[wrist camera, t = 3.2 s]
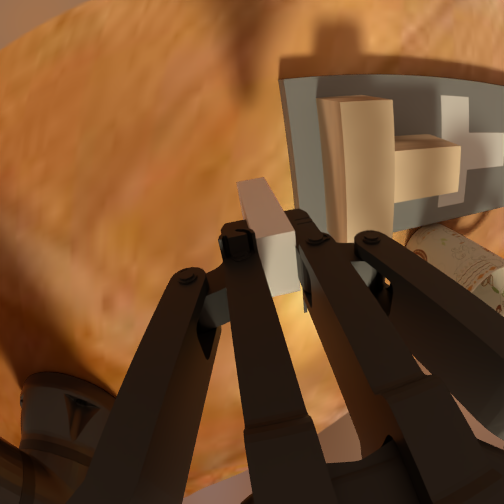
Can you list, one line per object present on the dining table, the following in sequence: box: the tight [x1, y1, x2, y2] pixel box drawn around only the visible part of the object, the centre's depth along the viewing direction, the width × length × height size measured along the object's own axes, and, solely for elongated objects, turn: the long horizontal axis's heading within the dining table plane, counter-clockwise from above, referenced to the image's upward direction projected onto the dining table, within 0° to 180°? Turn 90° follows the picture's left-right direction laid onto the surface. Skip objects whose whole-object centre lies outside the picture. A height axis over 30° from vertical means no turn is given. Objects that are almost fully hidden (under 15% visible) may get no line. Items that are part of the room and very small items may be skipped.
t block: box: [316, 95, 461, 243], centre depth 20 cm, size 10×10×4 cm
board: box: [278, 74, 504, 235], centre depth 23 cm, size 25×13×2 cm, turn 99°
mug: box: [406, 223, 504, 316], centre depth 25 cm, size 8×12×10 cm, turn 92°
